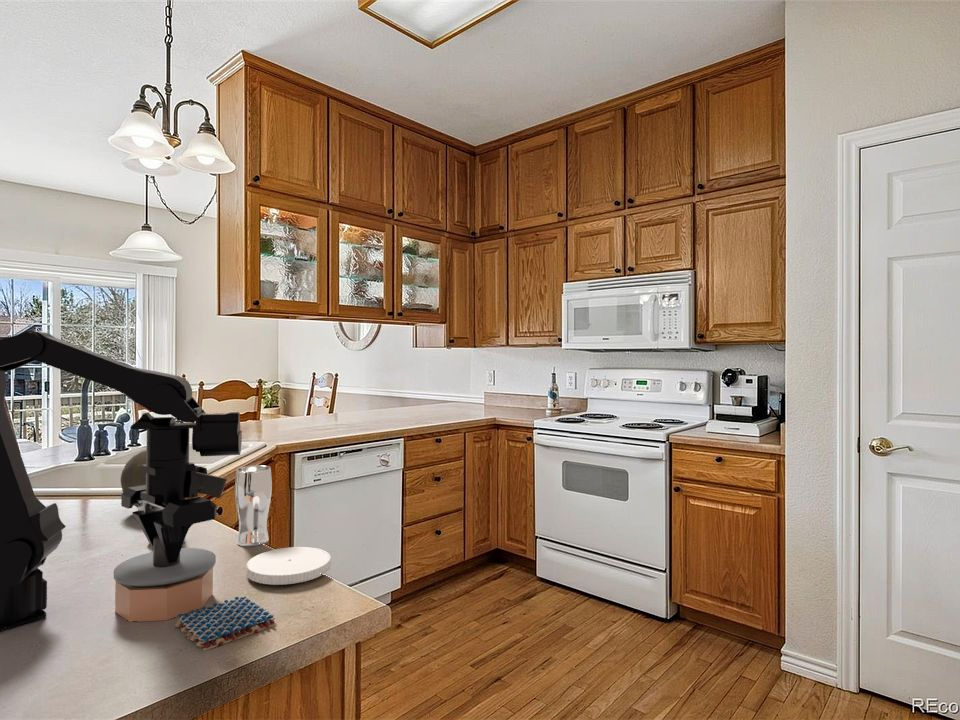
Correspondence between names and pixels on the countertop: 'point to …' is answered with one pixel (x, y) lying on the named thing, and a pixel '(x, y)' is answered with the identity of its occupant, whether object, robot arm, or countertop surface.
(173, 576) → the cover
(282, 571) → the plastic lid
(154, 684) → the countertop surface
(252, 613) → the woven mat
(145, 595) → the bowl
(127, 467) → the cantaloupe
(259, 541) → the beer glass
